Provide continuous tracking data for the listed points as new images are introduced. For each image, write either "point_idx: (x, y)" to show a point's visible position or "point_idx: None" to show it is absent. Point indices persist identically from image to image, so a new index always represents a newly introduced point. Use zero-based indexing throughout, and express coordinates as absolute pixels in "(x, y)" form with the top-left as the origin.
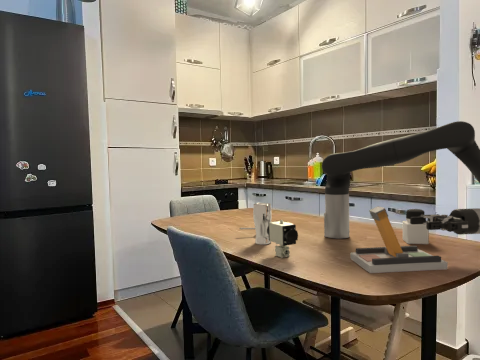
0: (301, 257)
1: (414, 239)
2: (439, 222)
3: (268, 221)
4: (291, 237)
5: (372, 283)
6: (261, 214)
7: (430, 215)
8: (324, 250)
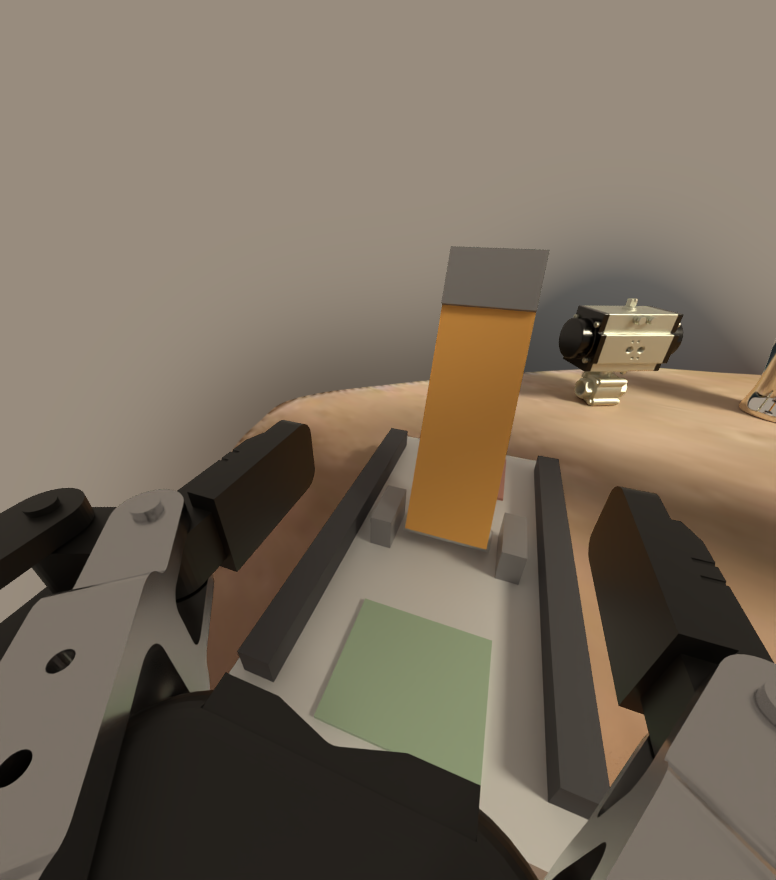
0: (582, 417)
1: None
2: (201, 488)
3: None
4: (566, 340)
5: (330, 425)
6: None
7: None
8: (690, 481)
